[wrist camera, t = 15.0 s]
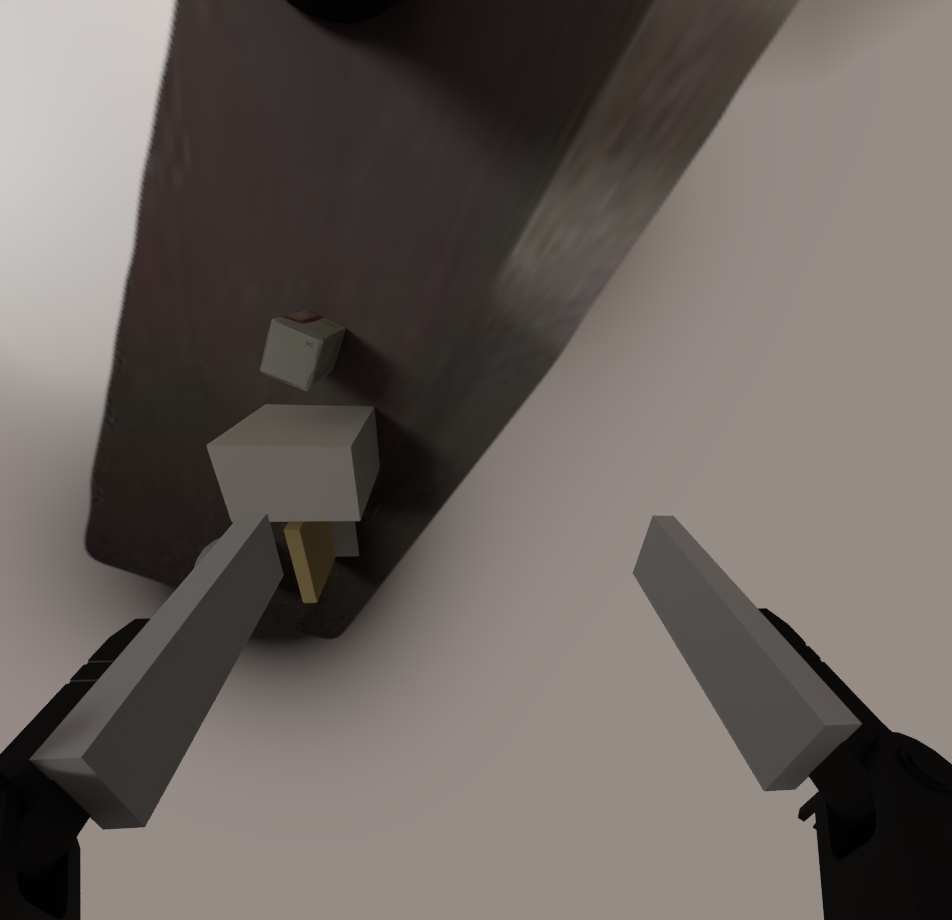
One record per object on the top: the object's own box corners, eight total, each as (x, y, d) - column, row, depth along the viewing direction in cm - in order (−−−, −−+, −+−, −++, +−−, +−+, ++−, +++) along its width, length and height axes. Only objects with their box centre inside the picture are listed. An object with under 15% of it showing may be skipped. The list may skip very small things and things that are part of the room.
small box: (305, 308, 36) (270, 315, 29) (347, 328, 37) (323, 340, 30) (293, 354, 38) (257, 372, 31) (333, 372, 39) (307, 393, 32)
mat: (283, 481, 45) (282, 482, 44) (349, 481, 45) (348, 482, 45) (301, 555, 50) (300, 557, 50) (359, 554, 51) (358, 556, 50)
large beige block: (258, 404, 40) (196, 445, 30) (374, 406, 41) (350, 446, 31) (273, 467, 44) (222, 521, 34) (379, 467, 45) (360, 521, 35)
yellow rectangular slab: (324, 556, 50) (303, 602, 43) (309, 489, 45) (283, 529, 38) (335, 556, 50) (316, 602, 43) (323, 489, 45) (299, 529, 38)
